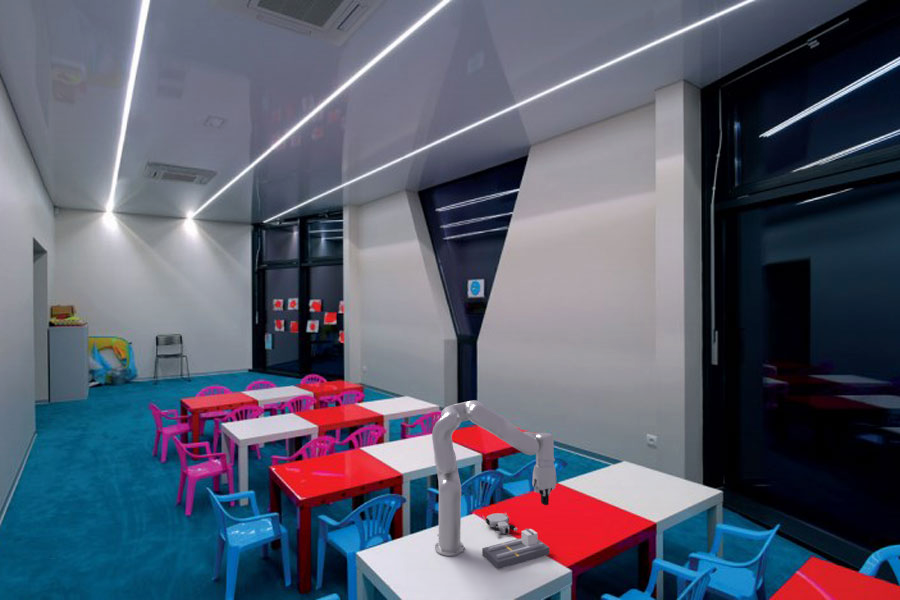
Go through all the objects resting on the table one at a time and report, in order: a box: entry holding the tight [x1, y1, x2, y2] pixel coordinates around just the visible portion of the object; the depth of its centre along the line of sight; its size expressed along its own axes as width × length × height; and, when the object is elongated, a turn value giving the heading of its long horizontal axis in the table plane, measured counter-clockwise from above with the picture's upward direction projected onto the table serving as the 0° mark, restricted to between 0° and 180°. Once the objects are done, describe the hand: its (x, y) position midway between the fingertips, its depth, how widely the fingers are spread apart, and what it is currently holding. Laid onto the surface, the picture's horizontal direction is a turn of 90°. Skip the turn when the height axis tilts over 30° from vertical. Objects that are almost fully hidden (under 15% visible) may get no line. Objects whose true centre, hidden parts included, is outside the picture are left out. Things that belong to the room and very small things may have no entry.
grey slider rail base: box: [481, 537, 550, 570], centre depth 201 cm, size 12×26×4 cm, turn 117°
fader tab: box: [521, 528, 538, 546], centre depth 205 cm, size 5×5×6 cm
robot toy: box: [482, 512, 518, 535], centre depth 225 cm, size 12×4×15 cm
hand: (544, 503), depth 208 cm, fingers closed
